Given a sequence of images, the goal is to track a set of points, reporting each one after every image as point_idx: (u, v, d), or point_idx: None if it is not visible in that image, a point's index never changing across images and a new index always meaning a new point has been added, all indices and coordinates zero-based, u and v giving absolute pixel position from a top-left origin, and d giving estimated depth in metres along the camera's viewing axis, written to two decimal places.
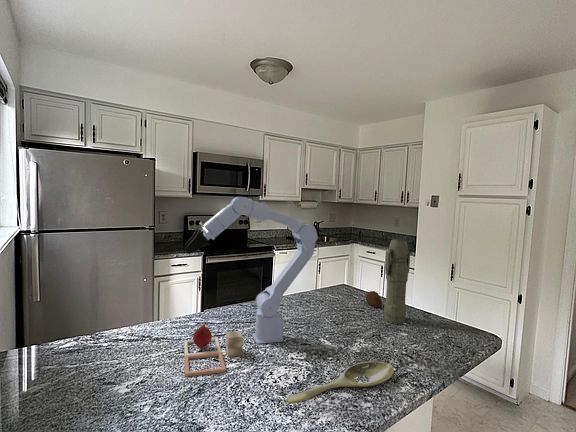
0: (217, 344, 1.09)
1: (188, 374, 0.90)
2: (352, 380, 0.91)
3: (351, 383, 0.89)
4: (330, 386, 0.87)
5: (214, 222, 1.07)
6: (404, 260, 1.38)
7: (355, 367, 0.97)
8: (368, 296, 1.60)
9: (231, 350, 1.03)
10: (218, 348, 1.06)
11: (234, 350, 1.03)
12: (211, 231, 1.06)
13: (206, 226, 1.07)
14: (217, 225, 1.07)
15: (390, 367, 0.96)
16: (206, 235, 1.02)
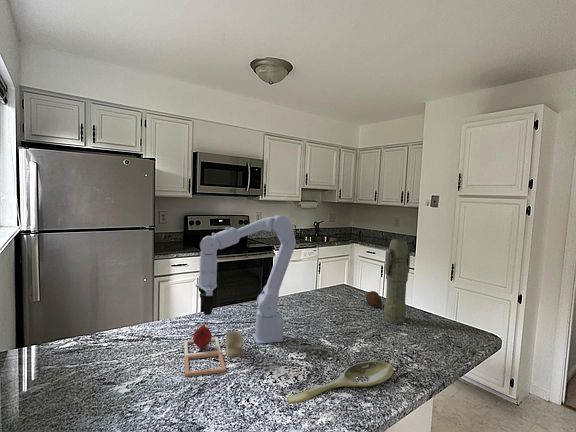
0: (217, 344, 1.09)
1: (188, 374, 0.90)
2: (352, 380, 0.92)
3: (351, 383, 0.89)
4: (330, 386, 0.87)
5: (204, 276, 1.09)
6: (404, 260, 1.38)
7: (355, 367, 0.97)
8: (368, 296, 1.60)
9: (231, 350, 1.03)
10: (218, 348, 1.06)
11: (234, 350, 1.03)
12: (209, 284, 1.10)
13: (201, 284, 1.10)
14: (208, 276, 1.09)
15: (390, 367, 0.97)
16: (207, 293, 1.05)
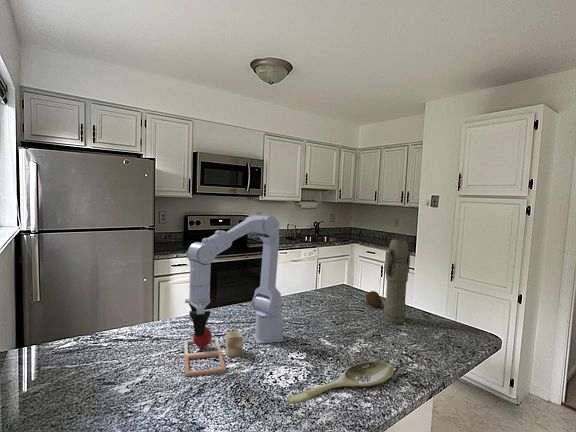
0: (217, 344, 1.09)
1: (188, 374, 0.90)
2: (353, 380, 0.92)
3: (352, 383, 0.89)
4: (330, 386, 0.87)
5: (195, 290, 0.92)
6: (404, 260, 1.38)
7: (355, 367, 0.97)
8: (368, 296, 1.60)
9: (231, 350, 1.03)
10: (218, 348, 1.06)
11: (234, 350, 1.03)
12: (200, 299, 0.93)
13: (192, 299, 0.93)
14: (200, 290, 0.92)
15: (390, 367, 0.97)
16: (199, 312, 0.88)
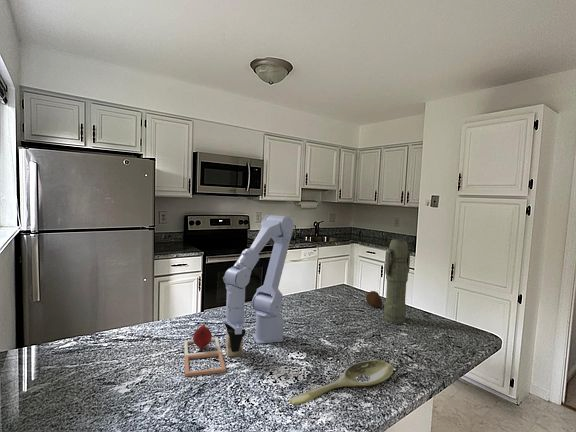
0: (217, 344, 1.09)
1: (188, 374, 0.90)
2: (353, 379, 0.92)
3: (352, 383, 0.89)
4: (332, 386, 0.87)
5: (232, 312, 1.02)
6: (404, 260, 1.38)
7: (355, 366, 0.97)
8: (368, 296, 1.60)
9: (231, 350, 1.03)
10: (218, 348, 1.06)
11: None
12: (237, 320, 1.02)
13: (229, 320, 1.02)
14: (236, 312, 1.02)
15: (389, 365, 0.97)
16: (237, 332, 0.98)
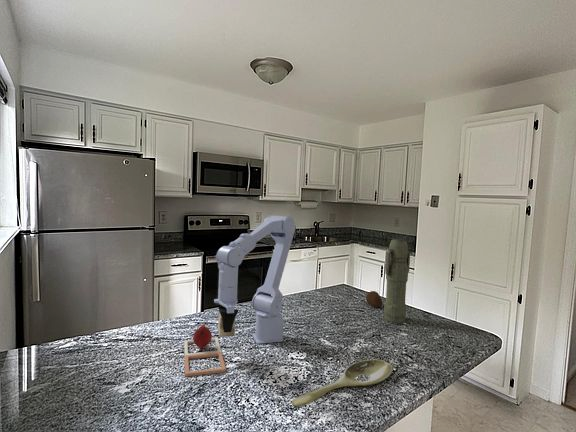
0: (217, 344, 1.09)
1: (188, 374, 0.90)
2: (353, 379, 0.92)
3: (353, 382, 0.89)
4: (333, 386, 0.87)
5: (224, 291, 0.99)
6: (404, 260, 1.38)
7: (354, 366, 0.98)
8: (368, 296, 1.60)
9: (223, 330, 1.00)
10: (218, 348, 1.06)
11: None
12: (229, 300, 0.99)
13: (221, 299, 0.99)
14: (228, 291, 0.99)
15: (388, 364, 0.98)
16: (229, 311, 0.95)
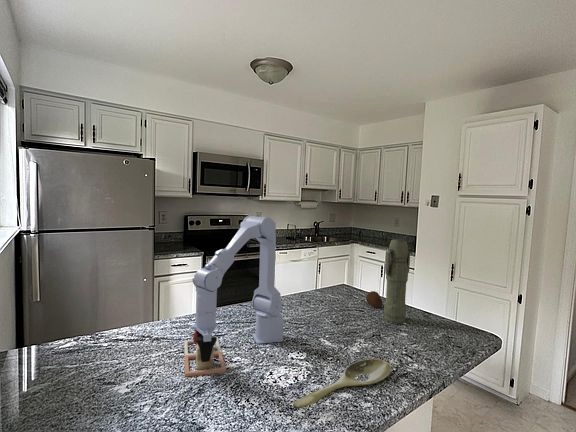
0: (217, 344, 1.09)
1: (188, 374, 0.90)
2: (353, 379, 0.92)
3: (354, 382, 0.89)
4: (334, 387, 0.87)
5: (201, 317, 0.93)
6: (404, 260, 1.38)
7: (353, 366, 0.98)
8: (369, 296, 1.60)
9: (201, 362, 0.94)
10: (218, 348, 1.06)
11: (204, 363, 0.95)
12: (207, 326, 0.94)
13: (198, 326, 0.94)
14: (206, 317, 0.93)
15: (387, 363, 0.98)
16: (205, 339, 0.89)
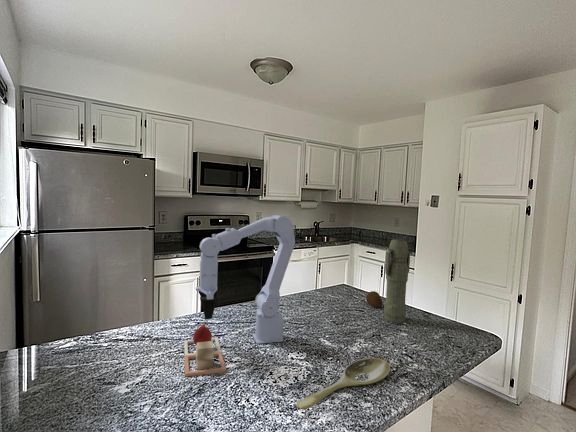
0: (217, 344, 1.09)
1: (188, 374, 0.90)
2: (353, 379, 0.92)
3: (354, 382, 0.90)
4: (335, 387, 0.87)
5: (204, 279, 1.06)
6: (404, 260, 1.38)
7: (353, 365, 0.98)
8: (369, 296, 1.60)
9: (201, 362, 0.94)
10: (218, 348, 1.06)
11: (204, 362, 0.95)
12: (209, 287, 1.06)
13: (202, 287, 1.07)
14: (209, 279, 1.06)
15: (386, 362, 0.99)
16: (208, 297, 1.02)
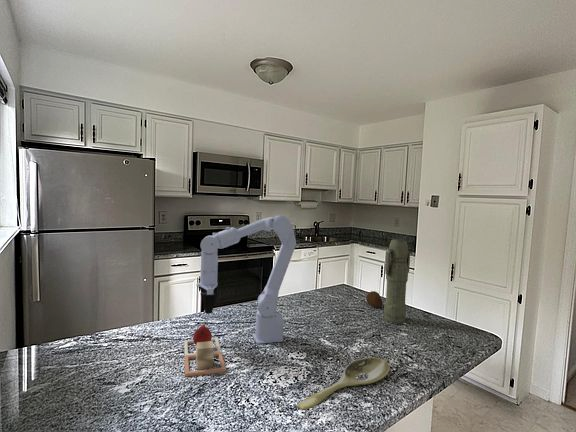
0: (217, 344, 1.09)
1: (188, 374, 0.90)
2: (353, 378, 0.92)
3: (354, 382, 0.90)
4: (336, 387, 0.87)
5: (205, 275, 1.11)
6: (404, 260, 1.38)
7: (353, 365, 0.98)
8: (369, 296, 1.60)
9: (201, 362, 0.94)
10: (218, 348, 1.06)
11: (204, 362, 0.95)
12: (209, 283, 1.11)
13: (202, 283, 1.11)
14: (209, 275, 1.11)
15: (385, 362, 0.99)
16: (208, 292, 1.07)
